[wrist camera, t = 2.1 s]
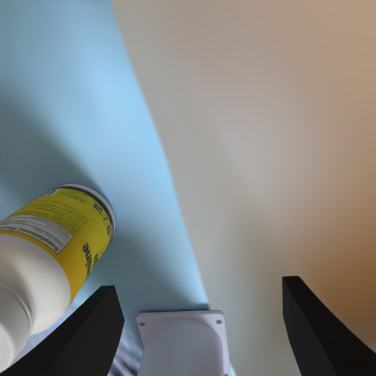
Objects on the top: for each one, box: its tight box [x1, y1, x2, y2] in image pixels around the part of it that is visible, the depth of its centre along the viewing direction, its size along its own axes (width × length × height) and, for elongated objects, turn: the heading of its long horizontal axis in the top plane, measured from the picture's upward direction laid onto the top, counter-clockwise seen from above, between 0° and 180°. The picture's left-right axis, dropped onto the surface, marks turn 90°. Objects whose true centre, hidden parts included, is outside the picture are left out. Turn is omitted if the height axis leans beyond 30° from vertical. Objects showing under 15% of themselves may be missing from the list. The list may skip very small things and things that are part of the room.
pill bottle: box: [0, 184, 116, 372], centre depth 16 cm, size 6×6×11 cm
